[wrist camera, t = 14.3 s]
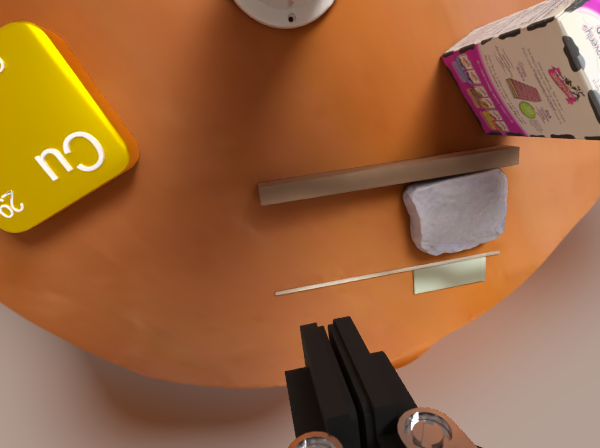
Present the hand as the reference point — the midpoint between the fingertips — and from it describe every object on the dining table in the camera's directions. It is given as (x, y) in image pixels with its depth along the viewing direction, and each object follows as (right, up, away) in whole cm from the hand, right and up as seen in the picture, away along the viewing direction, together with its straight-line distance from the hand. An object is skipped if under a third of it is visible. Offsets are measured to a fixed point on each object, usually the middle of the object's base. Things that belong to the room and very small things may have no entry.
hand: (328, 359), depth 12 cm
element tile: (-27, +14, +26) cm, 40 cm away
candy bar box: (+20, +21, +31) cm, 42 cm away
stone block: (+18, +6, +35) cm, 40 cm away
